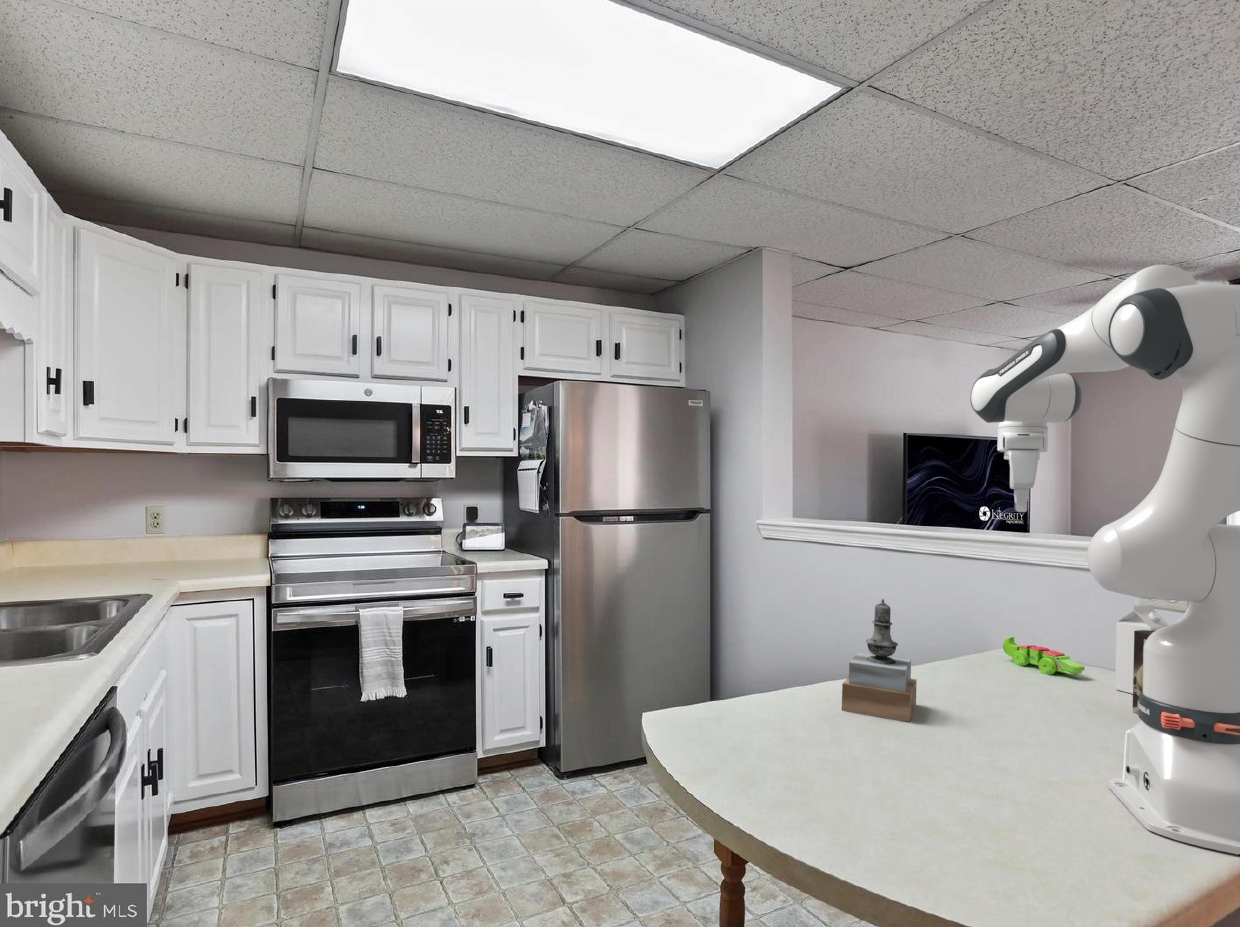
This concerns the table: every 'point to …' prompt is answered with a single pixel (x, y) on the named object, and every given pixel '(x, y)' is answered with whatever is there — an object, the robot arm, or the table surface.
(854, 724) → the table surface
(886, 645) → the salt shaker
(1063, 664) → the toy crocodile
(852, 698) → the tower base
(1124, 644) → the milk carton
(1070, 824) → the table surface
